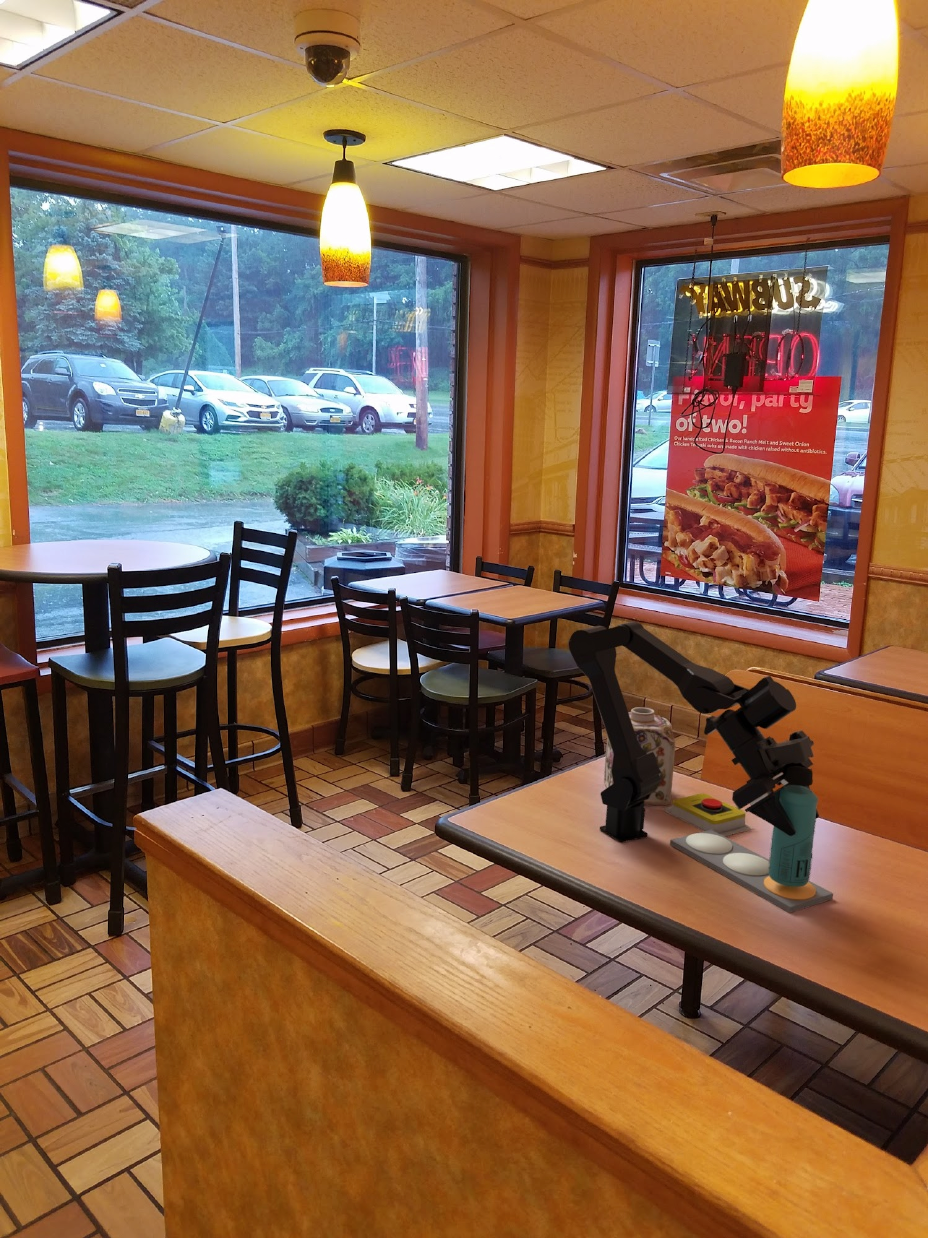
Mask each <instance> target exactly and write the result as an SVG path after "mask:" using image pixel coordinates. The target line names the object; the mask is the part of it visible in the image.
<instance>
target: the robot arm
mask: <svg viewBox="0 0 928 1238" xmlns="http://www.w3.org/2000/svg"><path fill="white" fill-rule="evenodd" d="M567 646H568V651H569V653H570V656H571V657H572V659H573V661H574V663H575V665H576V667H577V668H578V669H579V670H580V671H581V672H582V673H583V674H584V676H586V678H587V679H588V681H589V684H590V686H591V691H592V692H593V697H594V699H595V702H596V704H597V708H598V711H599V714H600V717H601V720H602V723H603V726H604V728H605V733H606V735H607V736H608V739H609V742H610V745H611V748H612V751H613V762H612V769H611V773H612V778H613V784H612V785H611V786H609V787H608V788H605V789H604V790H602V791H601V792H600V798H601V802H602V804H603V805H605V806H606V813H605V825H601V826H599V831H601V832H602V833H604V834H605V835H608V836H609V837H611V838H612V839H615V840H616V841H618V842H619V843H626V842H629V841H633V840H638V839H642V838H645V837H648V836H649V833H648V832H647V831H645V830H644V828H645V815H646V808H645V804H644V800H647V799H649V797H650V795H651V793H653V792H655V791H656V790H657V788H658V786H659V784H660V776H659V774H661V773H662V772H661V770H660V769H659V767H658V765H657V762H656V756H655V754H654V752H651V753H649V754H647V753H646V752H645V751H644V750H643V749H642V748H641V747H640V745H639V743H638V740H637V737H636V734H635V731H634V728H633V725H632V722H631V719H630V716H629V713H628V712H629V710H628V708H627V705H626V702H625V697H624V696H623V692H622V689H621V687H620V684H619V679H618V678H617V675H616V670H615V669H616V661H617V649H616V648H617V647H624V648H625V649H627V650H628V651H630V652H631V653H633V654H634V655H635V656H636V657H638V658H639V659H641V660H642V661H644V662H645V664H648V665H649V666H650V667H652V669H654V670H655V671H657V672H658V673H659V674H661V675H662V676H664V677H665V678H666V679H668V680H669V681H671V682H672V683H673V684H674V685H675V686H676V687H677V688H678V690H679V693H680V694H681V697H683V699H684V700H685V701H686V702H687V703H688V704H689V705H690V706H691V707H692V708H693V709H694V710H695V711H697V712H698V713H700V714H703V715H706V714H707V715H708V714H712V713H713V714H714V713H715V712H717V711H720V710H724V711H723V712H722V713H720V714H719V715H717V716H715V715H711V716H709V717H706V718H705V727H704V729H703V730H704V731H703V734H704V735H706V736H707V735H709V734H712V733H714V732H716V731H717V733H718V734H719V736H720V737H721V739H722V740H723V741H724V743H725V744H726V746H727V747H728V749H729V750H730V751H731V752H732V754H733V756H734V757H733V758H732V759H731V762H732V763H733V765H734V766H736V765H738V764H739V765H740V766H741V768H742V769H743V770H744V772H745V773H746V775H747V777H748V778H749V779H748V780H747V781H746V783H745V784H743V785H741V786H740V787H738V788H737V789H736V790H733V791H732V797H731V798H732V799H731V800H732V801H733V804H734V805H735V806H736V808H738V809H739V810H742V809H743V808H745V807H746V806H747V805H750V806H748V807H746V808H745V809H744V812H745V813H751V814H752V815H755V816H756V817H757V818H760V819H762V820H763V821H765V822H767V823H769V824H770V825H772V826H773V827H774V826H775V827H776V828H778V829H780V830H781V831H783V832H784V833H786V834H787V835H789V836H793V835H795V834H796V831H795V829H794V827H793V825H792V823H791V821H790V819H789V817H788V816H787V814H786V812H785V810H784V809H783V807H782V805H781V803H780V801H779V798H780V789H781V788H783V787H785V786H787V785H794V784H790V783H788V782H786V781H785V775H786V772H787V768H788V767H790V766H801V767H805V768H808V769H810V770H812V771H813V768H810V767H812V766H813V765H814V763H813V762H812V760H811V759H810V758H813V757H814V753H813V750H812V747H813V746H814V744H815V743H814V741H813V740H812V739H811V738H810V736H809V735H807V734H806V733H805V731H803V730H797V731H794V732H792V733H791V734H790V735H789V738H788V739H789V740H787V739H786V740H785V741H782V742H781V741H780V742H776V740H775V739H774V738H773V737H771V735H770V736H767V737H765V736H764V735H763V733H762V732H761V730H760V729H759V728H761V729H764V730H765V729H766V730H767V729H769V728H770V727H772V726H774V725H775V724H776V723H778V722H779V721H781V720H782V719H785V717H787V716H788V715H790V714H791V713H793V712H794V711H795V710H796V708H797V702H796V700H795V697H794V695H793V694H792V692H791V691H790V689H788V688H786V687H785V686H784V685H783V684H781V683H780V682H777V681H775V680H774V679H773V677H772V676H771V675H768V676H764V677H763V678H761V679H760V680H759V681H757V683H756V684H755V685H754V686H752V687H751V688H750V689H749V688H747V687H744V686H741V685H739V684H737V683H734V681H733V680H732V679H731V678H730V677H728V676H727V675H725V674H723V673H721V672H719V671H716V670H714V669H713V668H709V667H706V666H703V665H699V664H696V663H694V662H692V660H689V659H688V658H687V657H685V656H684V655H682V654H681V653H679V652H678V651H677V650H675V648H673V647H671V646H670V645H669V644H667V643H666V642H664V641H663V640H661V639H660V638H659V637H657V636H655V635H654V634H653V633H652V632H650V631H649V630H648V629H646V628H644V626H643V624H641V623H640V622H637V621H628V622H624V623H620V624H618V625H617V626H613V627H609V628H606V627H605V626H602V625H596V626H592V627H585V628H583V629H577V630H575V631H574V632H573V633H572V634H571V635H570V637H569V640H568V642H567ZM738 705H739V706H740V707H739V708H737V709H736V710H734V709H731V708H732V707H735V706H738ZM776 785H777V786H780V787H779V788H777V789H775V788H776ZM781 785H782V786H781ZM803 787H806V788H809V789H810V790H811V787H810V786H803ZM773 789H775V790H773ZM818 818H820V813H819V811H818V808H816V818H815V819H816V820H817V819H818Z"/></svg>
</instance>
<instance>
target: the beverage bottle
mask: <svg viewBox="0 0 928 1238" xmlns="http://www.w3.org/2000/svg"><path fill="white" fill-rule="evenodd" d="M810 769H811V768H809V767H808V768H805V767H801V766H790V767H788V768H787V772H786V775H785V781H786V782H788V783H790V784H794V785H787V786H785V787H783V786H782V787H783V788H781V787H780V788H781V789H780V798H779V801H780V803H781V805H782V807H783V809H784V810H785V812H786V814H787V816H788V817H789V819H790V821H791V823H792V825H793V827H794V829H795V831H796V834H795V835H793V836H789V835H787V834H786V833H784V832H783V831H781V830H780V829H778V828H776V827H775V826H773V828H772V833H771V834H770V835H771V838H770V839H771V843H770V847H769V849H770V853H769V857H768V860H770V861H769V862H770V864H769V865H768V867H769V868H768V869H769V876H770V878H771V879H772V880H774V881H775V882H777V883H779V884H782V885H786V886H792V887H801V886H804V885H806V884H807V883H808V881H811V880H810V879H811V876H812V875H811V871H812V870H811V869H812V864H813V863H812V862H813V861H812V860H813V856H814V855H813V848H814V847H813V846H814V837H815V832H816V824H817V823H816V822H817V819H815V818H816V808H817V806H818V801H819V798H818V796H817V795H816V794H815V793H814V792H813V791H812V789H811V788H810V789H809V788H806V787H803V786H809V787H810V786H812V785H813V784H814V783H813V781H814V780H813V777H814V776H813V773H814V772H813V769H812V770H810ZM817 809H818V808H817Z"/></svg>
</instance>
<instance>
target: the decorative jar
mask: <svg viewBox="0 0 928 1238" xmlns="http://www.w3.org/2000/svg"><path fill="white" fill-rule="evenodd" d="M628 713H629V716H630V719H631V722H632V725H633V728H634V731H635V734H636V737H637V740H638V743H639V745H640V747H641V748H642V749H643V750H644V751H645V752H646V753H647V754H649V753H651V752H654V754H655V756H656V762H657V765H658V767H659V769H660V770H661V772H662V773H661V774H659V776H660V784H659V786H658V788H657V790H656V791H655V792H653V793H651V795H650V797H649V799H647V800H644V805H648V806H649V805H650V806H651V805H653V806H654V805H655V806H669V805H670V804H671V798H672V789H673V778H674V766H675V765H674V764H675V752H676V738H675V733H674V732H673V727H672V723H671V722H670V721H669V720H668V719H667V718H665V717H662V716H661V715H658V714H655V710H654V709H652V708H650V707H639V706H638V707H634V708H632V709H631V710H630V712H629V711H628ZM605 750H606V751H605V758H604V760H605V761H604V762H605V763H604V774H603V783H604V786H605V787H606V788H608V787H609V786H611V785H612V784H613V778H612V773H611V769H612V762H613V751H612V748H611V745H610V742H609V739H608V736H607V739H606V748H605ZM606 788H605V789H606Z"/></svg>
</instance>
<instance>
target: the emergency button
mask: <svg viewBox="0 0 928 1238" xmlns="http://www.w3.org/2000/svg"><path fill="white" fill-rule="evenodd" d="M663 812H666V813H668V815H671V816H673V817H675V818H677V819H679V820H681V821H683V822H685V823H686V824H689V825H691V826H693V827H695V828H697V829H699V830H701V831H702V832H704V831H708V830H713V831H715V832H717V833H718V834H720V835H722V836H724V837H726V838H727V837H729V836H732V834H733V835H736V834H739V832H740V833H744V832H746V831H747V832H749V831H751V829H752V828H751V826H749V825H747V824H746V811H745V810H742V809H740V810H739V809H738V808H737V806H736V807H735V806H734V805H731V804H729V803H727V802H725V801H722V800H721V799H718V798H716V797H714V796H711V795H709V794H707V793H703V792H702V793H698V794H693V795H689V796H684V797H680V798H675V799H673V801H672V805H670V806H667V807H664V808H663ZM743 831H744V832H743Z"/></svg>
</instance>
